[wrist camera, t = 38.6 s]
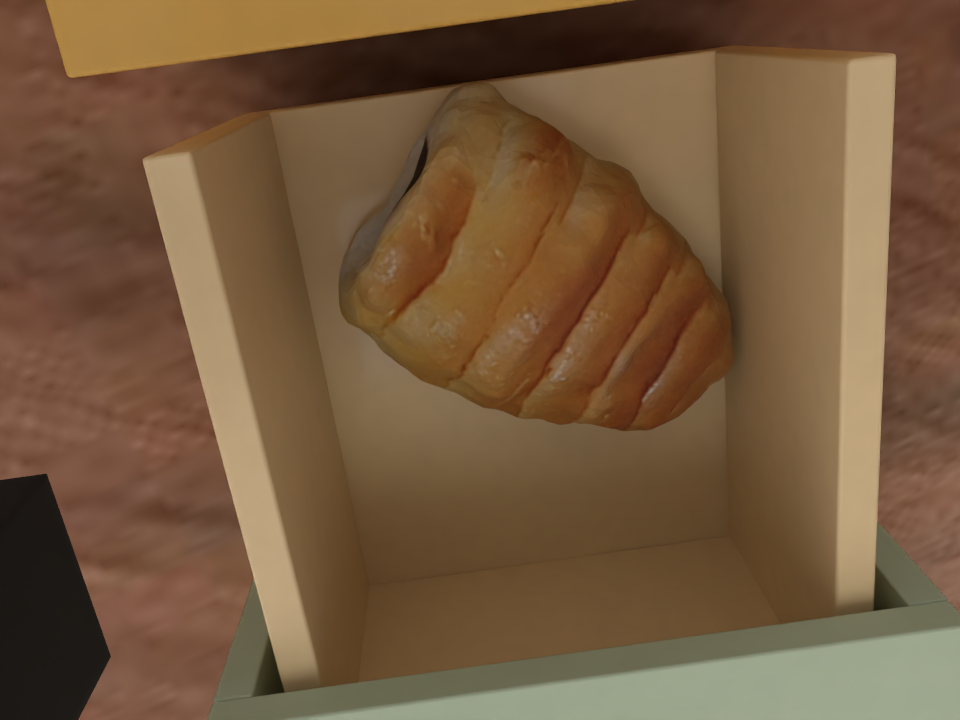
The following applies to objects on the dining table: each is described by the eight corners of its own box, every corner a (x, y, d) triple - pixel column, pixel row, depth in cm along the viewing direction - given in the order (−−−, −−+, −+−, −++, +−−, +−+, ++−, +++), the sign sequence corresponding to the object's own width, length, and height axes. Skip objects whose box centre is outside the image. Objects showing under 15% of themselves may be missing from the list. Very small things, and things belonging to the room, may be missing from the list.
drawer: (121, -296, 18) (-113, -539, 10) (756, -385, 18) (996, -695, 10) (327, 591, 26) (282, 827, 18) (767, 530, 26) (907, 741, 18)
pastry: (772, 256, 22) (836, 302, 18) (624, 463, 24) (656, 540, 20) (450, 58, 20) (452, 66, 16) (317, 302, 22) (293, 357, 18)
